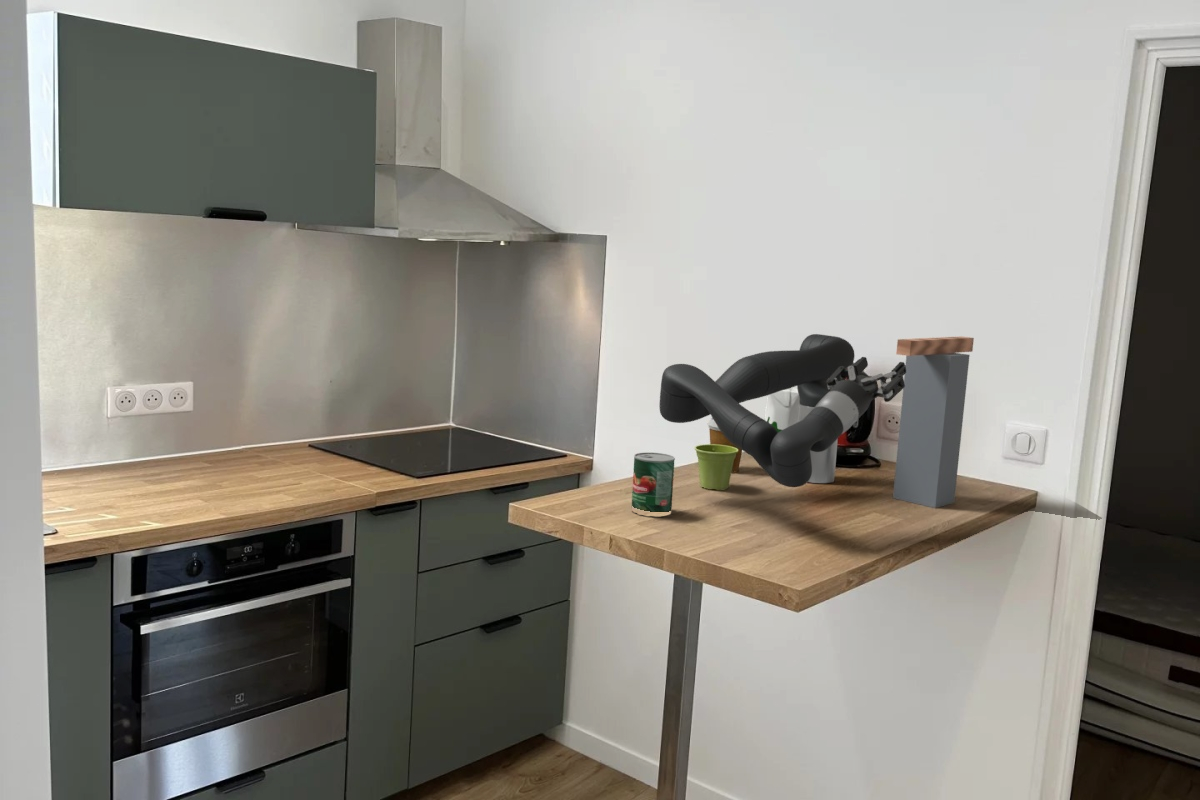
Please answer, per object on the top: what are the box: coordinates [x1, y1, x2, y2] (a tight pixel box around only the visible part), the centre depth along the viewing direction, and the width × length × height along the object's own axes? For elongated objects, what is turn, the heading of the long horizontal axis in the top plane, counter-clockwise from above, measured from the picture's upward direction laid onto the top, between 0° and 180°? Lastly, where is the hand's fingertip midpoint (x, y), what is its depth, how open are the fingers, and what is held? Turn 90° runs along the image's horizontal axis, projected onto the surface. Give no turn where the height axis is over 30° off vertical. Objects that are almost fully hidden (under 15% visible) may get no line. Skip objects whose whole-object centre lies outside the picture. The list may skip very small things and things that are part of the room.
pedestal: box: [892, 352, 971, 509], centre depth 220 cm, size 8×10×32 cm
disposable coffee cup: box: [707, 417, 743, 474], centre depth 243 cm, size 10×10×12 cm
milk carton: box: [764, 387, 800, 433], centre depth 257 cm, size 9×9×20 cm
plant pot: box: [694, 443, 738, 491], centre depth 224 cm, size 9×9×9 cm
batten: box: [896, 336, 974, 356], centre depth 217 cm, size 26×3×3 cm, turn 133°
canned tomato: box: [631, 451, 676, 512], centre depth 201 cm, size 8×8×11 cm
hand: (884, 363), depth 204 cm, fingers open, 8 cm apart
